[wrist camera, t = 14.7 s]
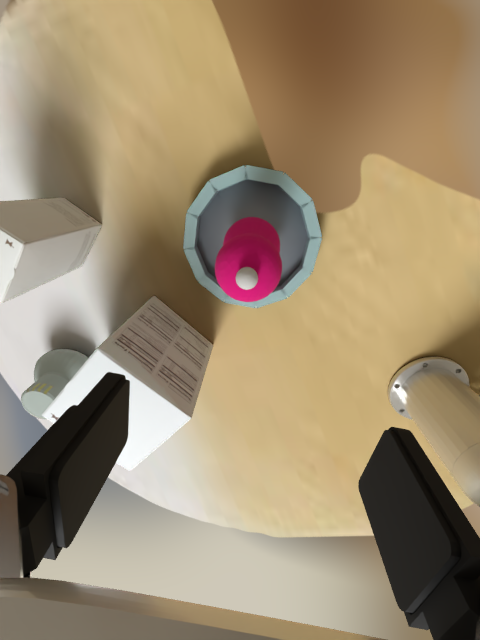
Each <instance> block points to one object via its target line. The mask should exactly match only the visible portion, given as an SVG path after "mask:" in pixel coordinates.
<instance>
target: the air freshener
mask: <svg viewBox="0 0 480 640" xmlns="http://www.w3.org/2000/svg"><path fill="white" fill-rule="evenodd" d="M87 360H88V357H87V356H85V355H84V354H82V353H80V352H77V351H74V350H70V349H57V350H52V351H50V352H47V353H46V354H44V355H43V356H41V357H40V359H39V360H38V361H37V363H36V365H35V370H34V380H35V383H34V384H33V385H31V386H30V387H29V388H28V389H27V390H26V391H24V392H23V394H22V396H21V401H22V405H23V407H24V409H25V410H26V411H27V412H28V413H29V414H31V415H32V416H34V417H36V418H40V419H46V418H45V417H43V416H42V414H43V412H44V411H45V410H46V409H47V408H48V407H49V405H50V404H51V403H52V402H53V401H54V399H55V398H56V397H57V396H58V395H59V393H60V392H61V391H62V390H63V389H64V387H65V386H66V384H67V383H68V382H69V381H70V380H71V379H72V378H73V377H74V375H75V374H76V373H77V372H78V370H79V369H80V368H81V367H82V366H83V364H84V363H85V362H86V361H87Z"/></svg>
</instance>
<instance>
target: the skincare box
mask: <svg viewBox="0 0 480 640" xmlns="http://www.w3.org/2000/svg"><path fill="white" fill-rule="evenodd" d="M101 226H102V224H101V223H99V222H98V221H96V220H95V219H94V218H92V217H91V216H89V215H88V214H86V213H85V212H84V211H82V210H81V209H79V208H78V207H76V206H75V205H74V204H72V203H71V202H69V201H68V200H66V199H65V198H47V199H31V200H15V201H0V303H4V302H6V301H9V300H11V299H13V298H15V297H17V296H19V295H21V294H24V293H26V292H28V291H30V290H32V289H34V288H37V287H39V286H41V285H43V284H45V283H47V282H49V281H52V280H54V279H56V278H58V277H60V276H62V275H64V274H67V273H69V272H71V271H73V270H75V269H78V268H80V267H82V265H83V263H84V261H85V259H86V257H87V255H88V253H89V251H90V249H91V247H92V245H93V243H94V241H95V239H96V237H97V235H98V233H99V231H100V229H101Z"/></svg>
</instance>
